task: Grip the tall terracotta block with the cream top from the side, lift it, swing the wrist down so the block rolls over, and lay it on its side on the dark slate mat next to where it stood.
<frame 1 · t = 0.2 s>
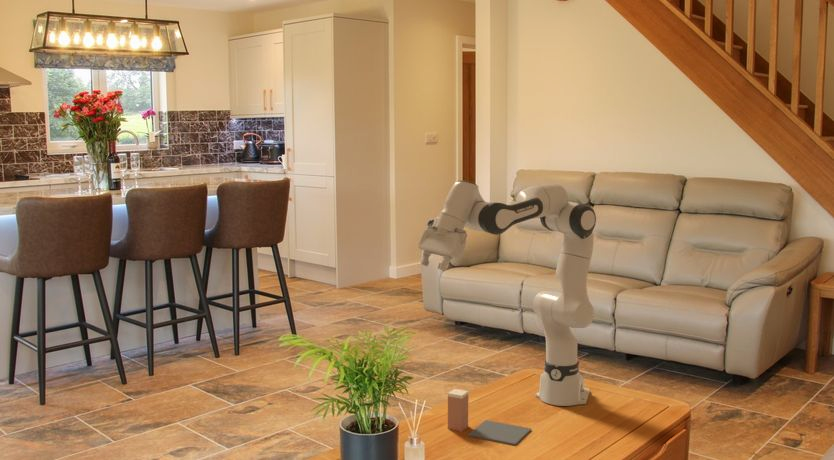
hand: (432, 267, 249), 54 cm above the table, tool tilted 30°, fingers open, 8 cm apart
tall block: (457, 427, 259), on the table
slate mat: (499, 433, 255), on the table
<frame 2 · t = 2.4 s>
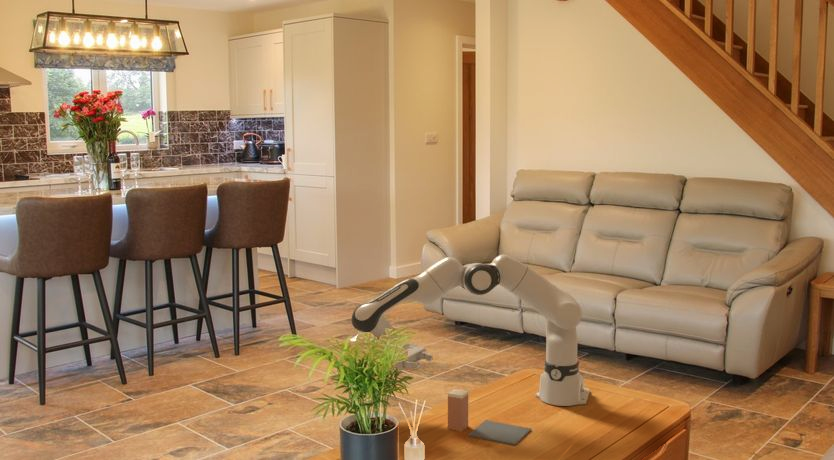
hand: (425, 361, 262), 20 cm above the table, tool horizontal, fingers open, 8 cm apart
nothing on the table moved.
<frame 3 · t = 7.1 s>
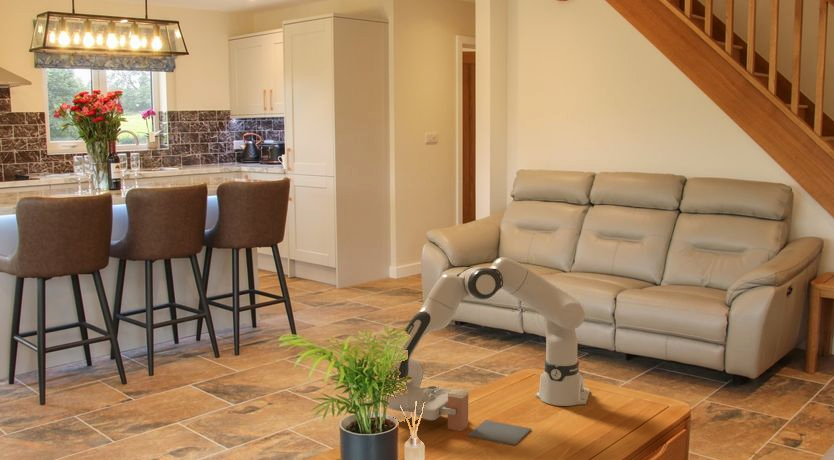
hand: (460, 408, 258), 7 cm above the table, tool horizontal, fingers closed on tall block, 5 cm apart
tall block: (457, 427, 259), on the table, touching gripper
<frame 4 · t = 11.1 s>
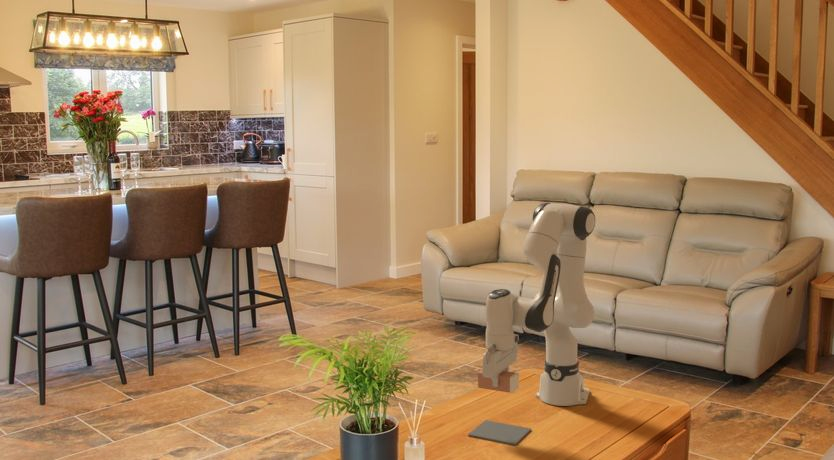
hand: (500, 383, 253), 17 cm above the table, tool pointing down, fingers closed on tall block, 5 cm apart
tall block: (481, 377, 256), point 17 cm above the table, tilted 89°, touching gripper
when the fingers open (4 cm above the table, at t = 14.3 s): tall block drops 1 cm, resting on slate mat.
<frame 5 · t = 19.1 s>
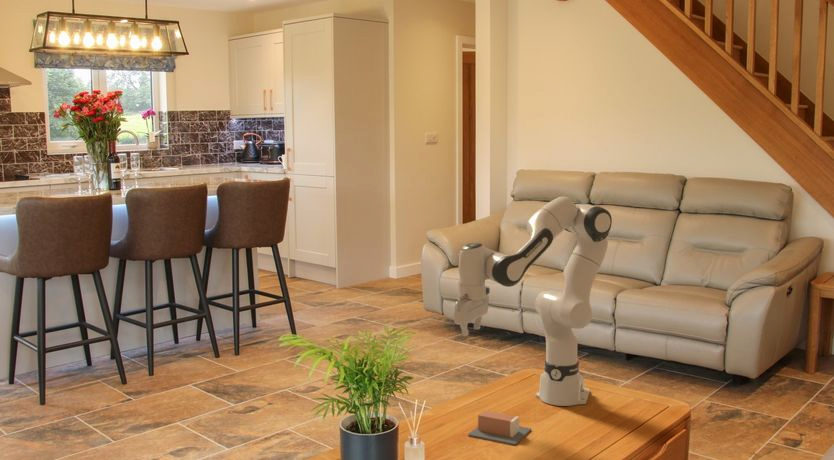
hand: (471, 332, 267), 29 cm above the table, tool pointing down, fingers open, 8 cm apart
tall block: (481, 420, 257), point 3 cm above the table, tilted 90°, touching slate mat
at the end: tall block tilted 90°; tall block inside the target area (5.6 cm from its centre), point 3.1 cm above the table; the gripper is holding nothing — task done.
